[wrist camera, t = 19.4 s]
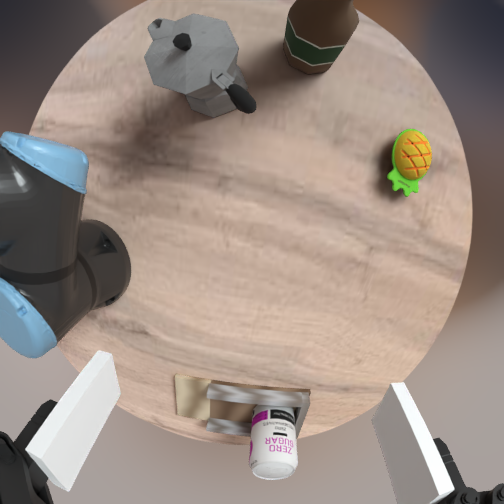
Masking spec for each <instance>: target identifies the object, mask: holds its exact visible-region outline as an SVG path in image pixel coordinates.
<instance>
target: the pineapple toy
mask: <svg viewBox="0 0 504 504" xmlns="http://www.w3.org/2000/svg"><path fill="white" fill-rule="evenodd" d="M431 159H432V152H431V147H430V144H429V142H428V140H427V138H426V137H425V136H424V135H423V134H422V133H421V132H419V131H417V130H415V129H407V130H404V131H403V132H401V133H400V134H399V135H398V137H397V138H396V140H395V142H394V145H393V149H392V164H393V170H392V171H391V172H389V173H388V175H387V178H388V179H389V180H391V181H392V189H393V191H397V190H398V189H399V188H402V189H403V193H404V195H405V196H406V197H408V196H409V194H410V193H411V192H412V191H413V192H414V193H417V192H418V181H419V180H420V179H421V178H422V177H423V176H424V175H425V174H426V172H427V171H428V169H429V167H430V164H431Z"/></svg>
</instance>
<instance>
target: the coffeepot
mask: <svg viewBox="0 0 504 504" xmlns="http://www.w3.org/2000/svg"><path fill="white" fill-rule="evenodd" d="M148 31H149V33H150V35H151V37H152V40H153V42H152V43H151V45H150V47H149V49H148V51H147V52H146V54H145V56H144V58H145V61H146V64H147V67H148V70H149V73H150V75H151V78H152V81H153V84H154V85H157V86H160V87H163V88H167V89H170V90H173V91H176V92H180V93H183V94H185V96H186V98H187V101H188V103H189V105H190V108H191V110H194V111H197V112H199V113H202V114H205V115H208V116H210V117H213V118H214V117H217V116H219V115H222V114H225V113H228V112H230V111H232V110H235V109H238V110H240V111H242V112H245V113H248V114H250V113H253V112H254V111H255V110H256V102H255V100H254V99H253V98H252V96H251V95H250V94H249V93H248V92H247V91H246V90H247V88H248V86H247V84H246V82H245V79H244V77H243V75H242V72H241V70H240V68H239V66H238V65H237V64H236V63H237V56H238V50H239V47H238V45H237V43H236V41H235V39H234V37H233V35H232V32H231V30H230V28H229V26H228V24H227V22H226V21H223V20H219V19H215V18H211V17H207V16H203V15H198V14H191V15H189V16H186V17H184V18H182V19H179V20H177V21H172V20H167V19H161V18H158V19H156V20H155V21H153V22H152V23H151V24H150V25H149V26H148Z"/></svg>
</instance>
